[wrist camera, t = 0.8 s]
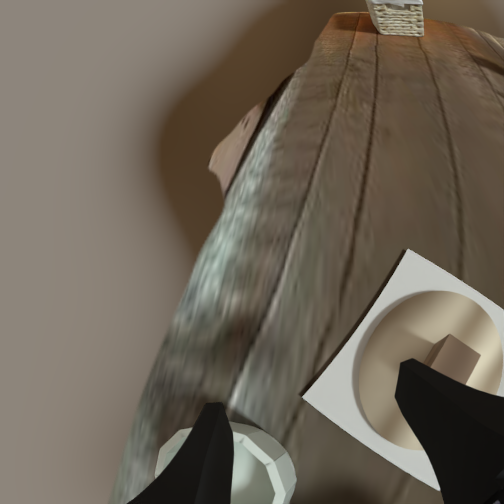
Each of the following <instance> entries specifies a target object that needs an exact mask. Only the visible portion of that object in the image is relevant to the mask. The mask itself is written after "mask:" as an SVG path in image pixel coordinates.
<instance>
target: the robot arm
mask: <svg viewBox="0 0 504 504" xmlns="http://www.w3.org/2000/svg"><path fill="white" fill-rule="evenodd" d="M394 397H395V399H396V402H397V404H398V406H399V409H400V411H401V413H402V415H403V417H404V418H405V420H406V422H407V423H408V425H409V426H410V428H411V430H412V431H413V433H414V434H415V436H416V438H417V439H418V441H419V442H420V444H421V446H422V447H423V449H424V451H425V452H426V454H427V456H428V458H429V461H430V463H431V465H432V468H433V470H434V473H435V475H436V478H437V481H438V484H439V487H440V490H441V493H442V497H443V500H444V504H504V397H502V396H497V395H493V394H490V393H487V392H483V391H480V390H477V389H475V388H472V387H470V386H467V385H465V384H462V383H460V382H458V381H456V380H454V379H452V378H450V377H448V376H446V375H444V374H442V373H440V372H438V371H436V370H434V369H432V368H431V367H429V366H427V365H425V364H423V363H421V362H419V361H418V360H416V359H414V358H411V359H408V360H406V361H403V362H400V367H399V374H398V380H397V385H396V391H395V396H394ZM233 465H234V439H233V431H232V429H231V426H230V423H229V421H228V418H227V415H226V413H225V410H224V407H223V404H222V402H216V403H206V404H205V405H204V407H203V409H202V411H201V413H200V415H199V417H198V419H197V421H196V423H195V425H194V426H193V428H192V430H191V432H190V433H189V435H188V436H187V438H186V440H185V441H184V443H183V444H182V446H181V448H180V449H179V450H178V452H177V453H176V455H175V456H174V457H173V459H172V460H171V461H170V463H169V464H168V465H167V466H166V468H165V469H164V470H163V471H162V472H161V473H160V475H159V476H158V477H157V478H156V479H155V480H154V481H153V482H152V483H151V484H150V485H149V486H148V487H147V488H146V489H145V490H143V491H142V492H141V493H140V494H139V495H138V496H136V497H135V498H134V499H133V500H131V501H130V502H128V503H127V504H231V489H232V477H233Z"/></svg>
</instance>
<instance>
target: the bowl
mask: <svg viewBox="0 0 504 504" xmlns="http://www.w3.org/2000/svg"><path fill="white" fill-rule="evenodd" d="M229 423H230V426H231V429H232V431H233V439H234V465H233V477H232V489H231V504H289V503H290V500H291V497H292V495H293V493H294V490H295V485H296V481H297V479H296V473H295V468H294V464H293V462H292V460H291V457H290V456H289V454H288V453H287V451H286V450H285V448H284V447H283V446H282V445H281V444H280V443H279V442H278V441H277V440H276V439H275V438H273V437H272V436H271V435H269V434H268V433H266V432H264V431H263V430H261V429H258V428H256V427H253V426H250V425H246V424H241V423H235V422H231V421H229ZM191 430H192V428H187V429H182V430H179V431H178V432H177V433H176V434H175V435H174V436H173V437H172V438H171V439H169V440H168V441H167V442H166V443H165V444H164V445H163V446H162V447H161V448H160V451H159V456H158V460H157V465H156V470H155V478H157V477H158V476H159V475H160V473H161V472H162V471H163V470H164V469H165V468H166V466H167V465H168V464H169V463H170V461H171V460H172V459H173V457H174V456H175V455H176V453H177V452H178V450H179V449H180V448H181V446H182V444H183V443H184V441H185V440H186V438H187V436H188V435H189V433H190V432H191Z"/></svg>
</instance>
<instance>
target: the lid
mask: <svg viewBox="0 0 504 504" xmlns="http://www.w3.org/2000/svg"><path fill="white" fill-rule="evenodd" d="M411 358H414V359H416V360H418V361H419V362H421V363H423V364H425V365H427V366H429V367H431V368H432V369H434V370H436V371H438V372H440V373H442V374H444V375H446V376H448V377H450V378H452V379H454V380H456V381H458V382H460V383H462V384H465V385H467V386H470V387H472V388H475V389H477V390H480V391H483V392H487V393H490V394H493V395H496V394H497V392H498V389H499V386H500V382H501V377H502V370H503V351H502V344H501V340H500V336H499V333H498V331H497V328H496V326H495V324H494V322H493V321H492V319H491V318H490V316H489V315H488V313H487V312H486V311H485V310H484V309H483V308H482V307H481V306H480V305H479V304H477V303H476V302H475V301H473V300H472V299H470V298H468V297H466V296H464V295H461V294H459V293H455V292H450V291H430V292H425V293H421V294H418V295H415V296H413V297H411V298H409V299H407V300H405V301H403V302H402V303H400V304H399V305H397V306H396V307H395V308H393V309H392V310H391V311H390V312H389V313H388V314H387V315H386V316H385V317H384V318H383V319H382V320H381V322H380V323H379V324H378V325H377V327H376V328H375V330H374V332H373V333H372V335H371V336H370V338H369V341H368V343H367V345H366V347H365V350H364V353H363V356H362V360H361V365H360V370H359V393H360V400H361V403H362V406H363V410H364V412H365V414H366V416H367V418H368V420H369V421H370V423H371V425H372V426H373V428H374V429H375V430H376V431H377V432H378V433H379V434H380V435H381V436H382V437H384V438H385V439H386V440H387V441H389V442H391V443H393V444H394V445H397V446H399V447H402V448H405V449H410V450H424V449H423V447H422V446H421V444H420V442H419V441H418V439H417V438H416V436H415V434H414V433H413V431H412V430H411V428H410V426H409V425H408V423H407V422H406V420H405V418H404V417H403V415H402V413H401V411H400V409H399V406H398V404H397V402H396V399H395V397H394V396H395V391H396V385H397V380H398V374H399V367H400V362H403V361H406V360H408V359H411Z"/></svg>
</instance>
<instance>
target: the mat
mask: <svg viewBox="0 0 504 504" xmlns="http://www.w3.org/2000/svg"><path fill="white" fill-rule="evenodd" d="M430 291H450V292H455V293H459V294H461V295H464V296H466V297H468V298H470V299H472V300H473V301H475V302H476V303H477V304H479V305H480V306H481V307H482V308H483V309H484V310H485V311H486V312H487V313H488V315H489V316H490V318H491V319H492V321H493V322H494V324H495V326H496V328H497V331H498V333H499V336H500V340H501V344H502V351H503V370H502V377H501V382H500V386H499V389H498V392H497V394H496V395H497V396H502V397H504V310H503V309H502V308H500V307H499V306H497V305H496V304H495V303H493V302H492V301H490V300H489V299H487V298H486V297H485V296H483V295H482V294H480V293H479V292H477V291H476V290H474V289H473V288H471V287H470V286H468V285H467V284H465V283H464V282H462V281H460V280H459V279H457V278H456V277H454V276H453V275H451V274H449V273H448V272H446V271H445V270H443V269H441V268H440V267H438V266H436V265H435V264H433V263H431V262H430V261H428V260H426V259H425V258H423V257H421V256H420V255H418V254H416V253H414V252H413V251H411V250H409V249H408V250H407V251H406V253H405V255H404V257H403V259H402V260H401V262H400V264H399V265H398V267H397V269H396V270H395V272H394V274H393V275H392V277H391V279H390V280H389V282H388V284H387V285H386V287H385V288H384V290H383V291H382V293H381V295H380V296H379V298H378V299H377V301H376V302H375V304H374V305H373V307H372V308H371V310H370V311H369V313H368V314H367V315H366V317H365V318H364V320H363V321H362V323H361V324H360V325H359V327H358V328H357V330H356V331H355V332H354V334H353V335H352V336H351V338H350V339H349V341H348V342H347V343H346V345H345V346H344V347H343V348H342V350H341V351H340V352H339V354H338V355H337V356H336V357H335V359H334V360H333V361H332V362H331V364H330V365H329V366H328V367H327V369H326V370H325V371H324V372H323V374H322V375H321V376H320V377H319V378H318V379H317V381H316V382H315V383H314V384H313V385H312V386H311V388H310V389H309V390H308V391H307V392H306V393H305V394H304V396H303V397H302V398H303V399H305V400H306V401H307V402H308V403H310V404H311V405H312V406H313V407H315V408H316V409H317V410H318V411H320V412H321V413H322V414H324V415H325V416H326V417H328V418H329V419H330V420H332V421H333V422H334V423H335V424H337V425H338V426H340V427H341V428H342V429H344V430H345V431H346V432H348V433H349V434H350V435H352V436H353V437H355V438H356V439H357V440H359V441H360V442H362V443H363V444H365V445H366V446H367V447H369V448H370V449H372V450H373V451H375V452H376V453H378V454H379V455H381V456H382V457H384V458H385V459H387V460H388V461H390V462H391V463H393V464H395V465H396V466H398V467H399V468H401V469H402V470H404V471H406V472H407V473H409V474H411V475H412V476H414V477H416V478H417V479H419V480H421V481H422V482H424V483H426V484H428V485H429V486H431V487H433V488H435V489H436V490H438V491H439V490H440V487H439V484H438V481H437V478H436V475H435V473H434V470H433V468H432V465H431V463H430V461H429V458H428V456H427V454H426V452H425V451H424V450H410V449H405V448H402V447H399V446H397V445H394V444H393V443H391V442H389V441H387V440H386V439H385V438H384V437H382V436H381V435H380V434H379V433H378V432H377V431H376V430H375V429H374V428H373V426H372V425H371V423H370V421H369V420H368V418H367V416H366V414H365V412H364V410H363V406H362V403H361V400H360V393H359V370H360V365H361V360H362V356H363V353H364V350H365V347H366V345H367V343H368V341H369V338H370V336H371V335H372V333H373V332H374V330H375V328H376V327H377V325H378V324H379V323H380V322H381V320H382V319H383V318H384V317H385V316H386V315H387V314H388V313H389V312H390V311H391V310H392V309H393V308H395V307H396V306H397V305H399V304H400V303H402V302H403V301H405V300H407V299H409V298H411V297H413V296H415V295H418V294H421V293H425V292H430Z"/></svg>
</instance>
